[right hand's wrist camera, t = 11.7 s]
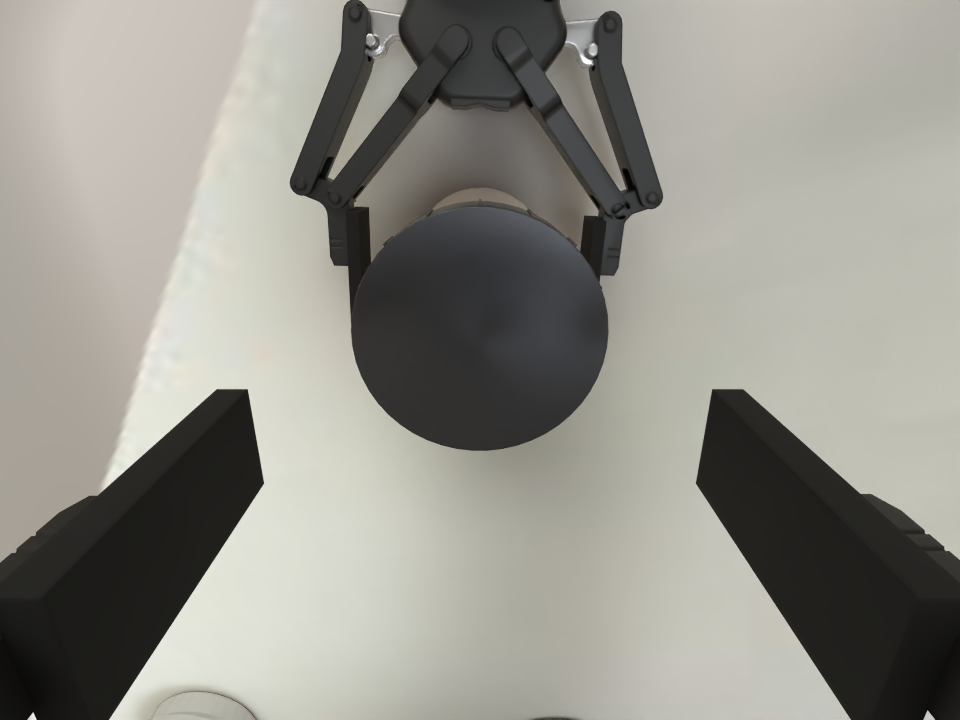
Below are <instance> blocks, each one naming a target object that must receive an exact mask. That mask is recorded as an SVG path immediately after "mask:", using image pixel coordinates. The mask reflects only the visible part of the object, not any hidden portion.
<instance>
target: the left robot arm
mask: <svg viewBox="0 0 960 720" xmlns="http://www.w3.org/2000/svg"><path fill="white" fill-rule="evenodd" d="M396 40H401V41H402V43H403V45H404V47H405V48H406V50H407V51H408V53H409V55H410V56H411V58H412V59H413V61H414V62H415V64H416V66H417V67H418V69H417V70H416V71H415V73H414V74H413V75H412V77H411V78H410V79H409V80H408V82H407V83H406V84H405V86H404V87H403V88H402V90H401V92H400V93H399V96H398V97H397V99H396V100H395V102H394V103H393V104H392V105H391V107H390V108H389V109H388V111H387V112H386V113H385V115H384V116H383V117H382V118H381V120H380V121H379V122H378V124H377V125H376V126H375V127H374V129H373V130H372V131H371V133H370V134H369V135H368V137H367V138H366V139H365V140H364V142H363V143H362V144H361V146H360V147H359V148H358V150H357V151H356V152H355V153H354V155H353V156H352V157H351V159H350V160H349V161H348V162H347V164H346V165H345V166H344V168H343V169H342V170H341V172H340V173H339V174H338V175H337V177H336V178H335V179H334V180H332V179H330V178H328V175H329V173H330V171H331V168H332V166H333V163H334V161H335V159H336V156H337V154H338V151H339V149H340V147H341V144H342V142H343V140H344V137H345V135H346V132H347V130H348V128H349V125H350V123H351V120H352V118H353V116H354V113H355V111H356V108H357V106H358V104H359V101H360V99H361V97H362V94H363V92H364V89H365V87H366V85H367V82H368V80H369V77H370V74H371V71H372V67H373V63H374V59H381V58H383V57H384V56H385V55H386V53H387V50H388V48H389V46H390V44H391V43H392V42H393V41H396ZM563 47H566V48H569V49H571V50H572V51H573V52H574V54H575V56H576V60H577V63H578V64H579V65H580V66H581V67H582V68H589V75H590V81H591V84H592V88H593V91H594V94H595V97H596V100H597V103H598V106H599V109H600V112H601V115H602V118H603V121H604V124H605V127H606V130H607V133H608V136H609V139H610V142H611V145H612V148H613V151H614V154H615V156H616V159H617V162H618V165H619V168H620V171H621V174H622V177H623V180H624V183H625V186H626V190H623V191H620V190H619V189H618V187H617V186H616V184H615V183H614V181H613V180H612V178H611V177H610V175H609V174H608V172H607V171H606V169H605V168H604V166H603V165H602V163H601V162H600V160H599V159H598V157H597V156H596V154H595V152H594V151H593V149H592V148H591V146H590V145H589V143H588V142H587V140H586V139H585V137H584V136H583V134H582V133H581V131H580V130H579V128H578V127H577V125H576V124H575V122H574V121H573V119H572V117H571V116H570V114H569V113H568V111H567V110H566V108H565V107H564V105H563V103H562V101H561V98H560V96H559V95H558V93H557V92H556V90H555V89H554V87H553V85H552V84H551V82H550V81H549V79H548V78H547V76H546V75H545V72H546V71H547V70H548V68H549V67H550V66H551V64H552V63H553V62H554V60H555V59H556V57H557V56H558V55H559V53H560V52H561V51H562V49H563ZM437 98H438V99H439V100H440V101H441V102H442V103H443V104H445V105H446V106H448V107H451V108H452V109H458V110H467V109H471V108H475V107H479V106H481V107H484V108H487V109H490V110H493V111H507V112H508V111H509V110H511V109H514V108H516V107H518V106H519V105H521V104H522V103H523V102H524V103H525V105H526V106H527V108H528V109H529V111H530V112H531V114H532V115H533V116H534V118H535V119H536V120H537V121H538V122H539V124H540V125H541V126H542V128H543V129H544V131H545V132H546V134H547V135H548V137H549V138H550V140H551V141H552V143H553V144H554V146H555V147H556V148H557V150H558V151H559V153H560V154H561V156H562V157H563V159H564V160H565V162H566V163H567V165H568V166H569V168H570V169H571V171H572V172H573V173H574V175H575V176H576V178H577V179H578V181H579V182H580V184H581V185H582V187H583V188H584V190H585V191H586V193H587V194H588V196H589V197H590V198H591V200H592V201H593V203H594V204H595V206H596V207H597V209H598V210H599V214H598V217H597V216H584V222H583V232H582V241H581V250H580V253H581V254H582V255H583V256H584V258H585V259H586V261H587V262H588V264H589V265H590V266H591V268H592V270H593V272H594V274H595V276H596V278H597V280H598V282H599V281H600V275H609V276H614V275H615V273H616V271H617V269H618V267H619V259H620V258H619V257H620V250H621V244H622V236H623V229H624V224H625V221H626V220H627V219H628V218H629V217H630V216H631V215H632V214H634V213H637V212H640V211H643V210H646V209H654V208H656V207H658V206H659V205H660V204H661V202H662V199H663V193H662V190H661V187H660V183H659V180H658V177H657V174H656V171H655V167H654V164H653V161H652V158H651V155H650V152H649V148H648V145H647V142H646V139H645V136H644V132H643V129H642V126H641V123H640V120H639V116H638V113H637V110H636V107H635V104H634V101H633V97H632V94H631V91H630V88H629V85H628V81H627V78H626V75H625V72H624V69H623V65H622V19H621V17H620V15H619V14H618V13H616V12H615V11H608V12H605V13H604V14H603V15H602V16H601V17H600V18H598V19H591V20H580V21H568V22H565V20H564V18H563V15H562V12H561V7H560V0H407V1H406V5H405V7H404V10H403V12H402V13H401V14H396V13H390V12H384V11H379V10H373V9H368V8H367V7H366V6H365V5H364V4H363V3H362V2H361V1H359V0H350V1H348V2H347V3H346V4H345V6H344V10H343V22H342V42H341V52H340V54H339V57H338V60H337V62H336V65H335V67H334V70H333V72H332V75H331V77H330V80H329V82H328V85H327V87H326V90H325V92H324V95H323V98H322V100H321V103H320V105H319V108H318V110H317V113H316V115H315V118H314V120H313V123H312V125H311V128H310V130H309V133H308V136H307V138H306V141H305V143H304V146H303V148H302V151H301V153H300V156H299V158H298V161H297V163H296V166H295V168H294V171H293V173H292V176H291V179H290V186H291V189H292V190H293V192H295V193H296V194H298V195H301V196H303V195H304V196H307V197H309V198H312V199H314V200H316V201H318V202H320V203H321V204H323V205H324V207H325V208H326V210H327V215H328V229H329V244H330V257H331V259H332V261H333V264H334V265H336V266H348V271H349V290H350V309H351V323H352V312H353V306H354V301H355V297H356V294H357V291H358V286H359V285H360V283H361V281H362V279H363V277H364V275H365V273H366V271H367V269H368V267H369V266H370V264H371V254H370V227H369V207H355V208H354V203H355V202H356V198H357V197H358V196H359V195H360V193H361V192H362V191H363V190H364V188H365V187H366V186H367V185H368V183H369V182H370V181H371V180H372V178H373V177H374V176H375V175H376V173H377V172H378V171H379V169H380V168H381V167H382V166H383V164H384V163H385V162H386V161H387V159H388V158H389V157H390V156H391V154H392V153H393V152H394V151H395V149H396V148H397V147H398V146H399V144H400V143H401V142H402V141H403V139H404V138H405V137H406V136H407V134H408V133H409V132H410V130H411V129H412V128H413V127H414V125H415V124H416V123H417V122H418V120H419V119H420V118H421V117H422V116H423V115H424V114H425V113H426V112H427V111H428V110H429V108H430V107H431V106H432V105H433V103H434V102H435V101H436V100H437Z"/></svg>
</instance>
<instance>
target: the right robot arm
mask: <svg viewBox="0 0 960 720" xmlns="http://www.w3.org/2000/svg"><path fill="white" fill-rule="evenodd" d="M263 484H264V480H263V475H262V469H261V463H260V458H259V452H258V446H257V440H256V435H255V429H254V423H253V417H252V412H251V406H250V400H249V394H248V389H217V390H216V391H214V392H213V393H212V394H211V395H210V396H209V397H208V398H207V399H205V400H204V401H203V402H202V403H201V404H200V405H199V406H198V407H197V408H195V409H194V410H193V411H192V412H191V413H190V414H189V415H188V416H186V417H185V418H184V419H183V420H182V421H181V422H180V423H179V424H177V425H176V426H175V427H174V428H173V429H172V430H171V431H170V432H169V433H167V434H166V435H165V436H164V437H163V438H162V439H161V440H160V441H158V442H157V443H156V444H155V445H154V446H153V447H152V448H151V449H149V450H148V451H147V452H146V453H145V454H144V455H143V456H142V457H141V458H139V459H138V460H137V461H136V462H135V463H134V464H133V465H132V466H130V467H129V468H128V469H127V470H126V471H125V472H124V473H123V474H121V475H120V476H119V477H118V478H117V479H116V480H115V481H114V482H113V483H111V484H110V485H109V486H108V487H107V488H106V489H105V490H104V491H102V492H101V493H100V494H99V495H98V496H88V497H87V498H85V499H83V500H81V501H79V502H78V503H76V504H74V505H72V506H70V507H68V508H67V509H65V510H63V511H61V512H59V513H58V514H57V515H56V516H55V517H53V518H52V519H51V520H50V521H49V522H48V523H46V524H45V525H44V526H43V527H42V528H41V529H39V530H38V531H37V532H36V536H31V537H30V538H29V539H28V540H27V541H25V542H24V543H23V544H22V545H21V546H19V547H18V548H17V551H16V553H11V554H10V555H9V556H8V557H6V558H5V559H4V560H3V561H2V562H1V563H0V720H27V719H28V718H29V717H30V715H31V714H32V713H33V712H34V715H35V717H36V719H37V720H109V719H110V717H111V716H112V714H113V713H114V711H115V710H116V708H117V707H118V705H119V704H120V702H121V701H122V699H123V698H124V696H125V694H126V693H127V691H128V690H129V688H130V687H131V685H132V684H133V682H134V681H135V679H136V678H137V676H138V675H139V673H140V672H141V670H142V669H143V667H144V666H145V664H146V662H147V661H148V659H149V658H150V656H151V655H152V653H153V652H154V650H155V649H156V647H157V646H158V644H159V643H160V641H161V640H162V638H163V637H164V635H165V634H166V632H167V631H168V629H169V627H170V626H171V624H172V623H173V621H174V620H175V618H176V617H177V615H178V614H179V612H180V611H181V609H182V608H183V606H184V605H185V603H186V602H187V600H188V599H189V597H190V595H191V594H192V592H193V591H194V589H195V588H196V586H197V585H198V583H199V582H200V580H201V579H202V577H203V576H204V574H205V573H206V571H207V570H208V568H209V567H210V565H211V563H212V562H213V560H214V559H215V557H216V556H217V554H218V553H219V551H220V550H221V548H222V547H223V545H224V544H225V542H226V541H227V539H228V538H229V536H230V535H231V533H232V531H233V530H234V528H235V527H236V525H237V524H238V522H239V521H240V519H241V518H242V516H243V515H244V513H245V512H246V510H247V509H248V507H249V506H250V504H251V503H252V501H253V499H254V498H255V496H256V495H257V493H258V492H259V490H260V489H261V487H262V486H263ZM696 484H697V486H698V487H699V489H700V490H701V492H702V493H703V495H704V496H705V498H706V499H707V501H708V503H709V504H710V506H711V507H712V509H713V510H714V512H715V513H716V515H717V516H718V518H719V519H720V521H721V522H722V524H723V525H724V527H725V528H726V530H727V531H728V533H729V535H730V536H731V538H732V539H733V541H734V542H735V544H736V545H737V547H738V548H739V550H740V551H741V553H742V554H743V556H744V557H745V559H746V560H747V562H748V563H749V565H750V567H751V568H752V570H753V571H754V573H755V574H756V576H757V577H758V579H759V580H760V582H761V583H762V585H763V586H764V588H765V589H766V591H767V592H768V594H769V595H770V597H771V599H772V600H773V602H774V603H775V605H776V606H777V608H778V609H779V611H780V612H781V614H782V615H783V617H784V618H785V620H786V621H787V623H788V624H789V626H790V627H791V629H792V631H793V632H794V634H795V635H796V637H797V638H798V640H799V641H800V643H801V644H802V646H803V647H804V649H805V650H806V652H807V653H808V655H809V656H810V658H811V659H812V661H813V663H814V664H815V666H816V667H817V669H818V670H819V672H820V673H821V675H822V676H823V678H824V679H825V681H826V682H827V684H828V685H829V687H830V688H831V690H832V691H833V693H834V694H835V696H836V698H837V699H838V701H839V702H840V704H841V705H842V707H843V708H844V710H845V711H846V713H847V714H848V716H849V717H850V719H851V720H923V719H924V717H925V715H926V712H927V710H928V711H929V712H930V714H931V715H932V716H933V717H934V719H935V720H960V560H959V559H958V558H957V557H956V556H954V555H953V554H952V553H951V552H950V551H945V550H944V546H943V545H941V544H940V543H939V542H938V541H937V540H935V539H934V538H933V537H932V536H931V535H929V534H925V530H924V529H922V528H921V527H920V526H919V525H918V524H916V523H915V522H914V521H913V520H912V519H911V518H909V517H908V516H907V515H906V514H905V513H903V512H902V511H901V510H899V509H897V508H895V507H894V506H892V505H890V504H888V503H886V502H885V501H883V500H881V499H879V498H877V497H875V496H874V495H872V494H860V493H859V492H858V491H856V490H855V489H854V488H853V487H852V486H851V485H850V484H849V483H847V482H846V481H845V480H844V479H843V478H842V477H841V476H840V475H839V474H837V473H836V472H835V471H834V470H833V469H832V468H831V467H830V466H828V465H827V464H826V463H825V462H824V461H823V460H822V459H821V458H819V457H818V456H817V455H816V454H815V453H814V452H813V451H812V450H811V449H809V448H808V447H807V446H806V445H805V444H804V443H803V442H802V441H800V440H799V439H798V438H797V437H796V436H795V435H794V434H793V433H791V432H790V431H789V430H788V429H787V428H786V427H785V426H784V425H783V424H781V423H780V422H779V421H778V420H777V419H776V418H775V417H774V416H772V415H771V414H770V413H769V412H768V411H767V410H766V409H765V408H763V407H762V406H761V405H760V404H759V403H758V402H757V401H756V400H755V399H753V398H752V397H751V396H750V395H749V394H748V393H747V392H746V391H744V390H743V389H712V394H711V400H710V406H709V412H708V417H707V423H706V429H705V435H704V440H703V446H702V452H701V457H700V463H699V469H698V475H697V480H696ZM544 720H568V719H544Z"/></svg>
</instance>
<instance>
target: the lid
mask: <svg viewBox="0 0 960 720" xmlns="http://www.w3.org/2000/svg"><path fill="white" fill-rule="evenodd" d="M383 245H384V246H385V247H384V248H383V249H382V250H381V251H380V252H379V253H378V254H377V256H376V257H375V258H374V260H373V261H372V263H371V264H370V266H369V267H368V269H367V271H366V273H365V275H364V277H363V279H362V281H361V283H360V285H359V286H358V291H357V294H356V297H355V301H354V306H353V312H352V323H351V335H352V346H353V351H354V355H355V360H356V363H357V366H358V368H359V371H360V374H361V376H362V378H363V380H364V382H365V384H366V386H367V388H368V390H369V391H370V393H371V394H372V395H373V397H374V398H375V400H376V401H377V402H378V404H379V405H380V406H381V407H382V408H383V409H384V410H385V411H386V412H387V414H388V415H390V416H391V417H392V418H393V419H394V420H395V421H397V422H398V423H399V424H400V425H402V426H403V427H405V428H406V429H408V430H409V431H411V432H412V433H414V434H416V435H418V436H420V437H422V438H424V439H426V440H428V441H431V442H434V443H437V444H440V445H443V446H447V447H451V448H456V449H463V450H472V451H488V450H496V449H504V448H508V447H513V446H517V445H520V444H523V443H526V442H528V441H531V440H533V439H535V438H537V437H540V436H542V435H544V434H546V433H547V432H549V431H550V430H552V429H553V428H555V427H556V426H558V425H559V424H561V423H562V422H563V421H564V420H565V419H566V418H568V417H569V416H570V415H571V414H572V413H573V412H574V411H575V410H576V409H577V408H578V407H579V405H580V404H581V403H582V402H583V400H584V399H585V398H586V396H587V395H588V393H589V392H590V391H591V389H592V387H593V385H594V383H595V381H596V380H597V378H598V375H599V373H600V370H601V367H602V365H603V362H604V357H605V353H606V349H607V341H608V314H607V309H606V303H605V299H604V296H603V293H602V290H601V289H602V287H601V286H600V284H599V282H598V280H597V278H596V276H595V274H594V272H593V270H592V268H591V266H590V265H589V264H588V262H587V261H586V259H585V258H584V256H583V255H582V254H581V253H580V251H579V250H578V249H577V248H576V246H577V245H576V244H575V243H574V242H573V241H572V240H571V239H570V238H569V237H567V238H566V237H565V236H564V235H563V234H562V233H561V232H560V231H558V230H557V229H556V228H555V227H554V226H552V225H551V224H550V223H549V222H547V221H545V220H544V219H542V218H540V217H539V216H537V215H536V214H534V213H533V212H532V211H531V210H530V209H527V210H524V209H522V208H519V207H516V206H512V205H509V204H505V203H498V202H491V201H482V199H479V201H468V202H461V203H455V204H451V205H447V206H444V207H440V208H438V209H435V210H433V209H430V210H429V211H428V212H427V213H426V214H424V215H422V216H421V217H419V218H417V219H416V220H414V221H413V222H411V223H410V224H408V225H407V226H406V227H405V228H404V229H402V230H401V231H400V232H399V233H398V234H397V235H395V236H394V237H393V236H392V237H391V238H389V239H388V240H387V241H386V242H385V243H384V244H383Z"/></svg>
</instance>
